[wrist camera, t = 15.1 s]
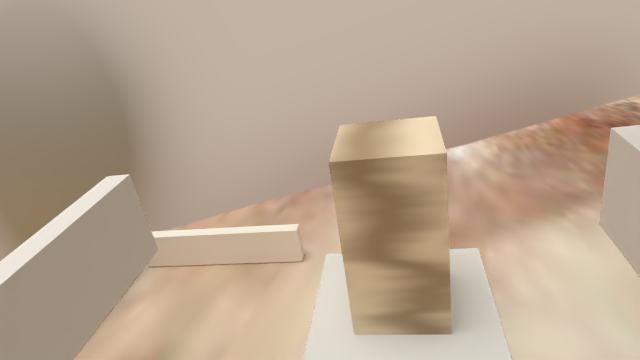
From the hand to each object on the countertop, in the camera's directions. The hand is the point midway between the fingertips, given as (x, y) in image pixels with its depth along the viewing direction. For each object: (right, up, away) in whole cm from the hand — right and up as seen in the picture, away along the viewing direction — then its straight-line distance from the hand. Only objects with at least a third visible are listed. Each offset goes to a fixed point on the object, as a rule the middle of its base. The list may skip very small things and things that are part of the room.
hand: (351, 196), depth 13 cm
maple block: (+5, -8, +18) cm, 20 cm away
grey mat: (+5, -8, +18) cm, 21 cm away
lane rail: (-9, -6, +26) cm, 29 cm away
